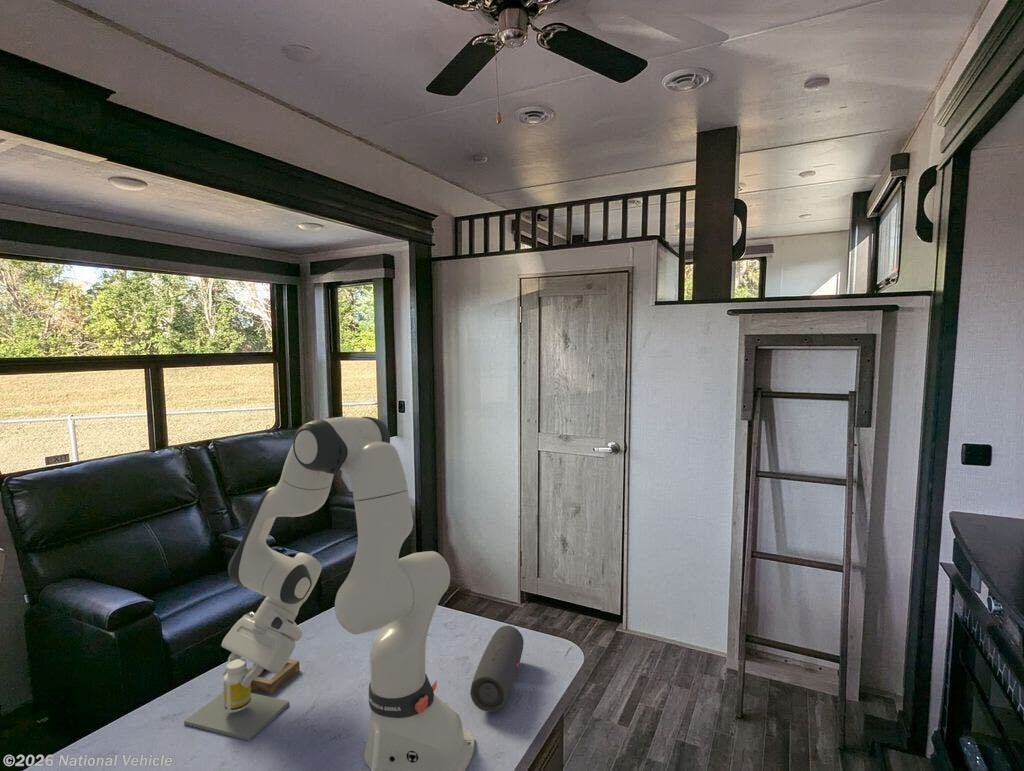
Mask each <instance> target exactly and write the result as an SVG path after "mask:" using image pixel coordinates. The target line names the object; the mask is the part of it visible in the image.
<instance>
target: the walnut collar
mask: <svg viewBox="0 0 1024 771" xmlns="http://www.w3.org/2000/svg"><path fill="white" fill-rule="evenodd" d="M251 668H252V666H251V667H249V668H248V669H249V671H251V670H252V669H251ZM266 671H267V670H266V669H263V671H262V672H261V674H260V675H258V676H257V677H256V678H255V679H254V680H252V682H251V691H255V692H261V693H266V694H270V695H272V694H273V693H274V692H276V691H277V690H279V688H280V687H281V686H283V685H284V684H285V683H286V682H288V681H289V680H290V679H291V678H292V677H294V676H295V675H296V674H297V673H298V672H299V671H300V660H297V659H291V658H289V660H288V661H287V663H286V665H285V666H284V668H283V669H282V670H281V671H280V672H279V673H277V674H274V675H273V677H271V678H266V677H262V676H261V675H262V674H263V673H264V672H266Z"/></svg>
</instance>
